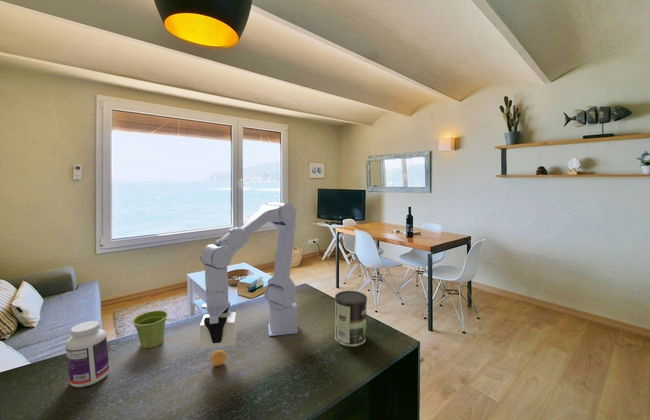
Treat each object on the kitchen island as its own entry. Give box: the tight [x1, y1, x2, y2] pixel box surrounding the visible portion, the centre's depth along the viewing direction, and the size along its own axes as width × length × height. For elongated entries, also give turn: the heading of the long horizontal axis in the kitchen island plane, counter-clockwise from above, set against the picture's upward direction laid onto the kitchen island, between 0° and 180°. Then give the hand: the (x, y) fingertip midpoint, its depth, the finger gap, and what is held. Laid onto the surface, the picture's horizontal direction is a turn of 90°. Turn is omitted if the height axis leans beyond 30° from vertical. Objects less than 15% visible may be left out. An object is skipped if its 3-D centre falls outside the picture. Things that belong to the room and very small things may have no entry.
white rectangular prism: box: [199, 311, 237, 350], centre depth 80 cm, size 9×6×7 cm
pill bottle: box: [65, 320, 110, 388], centre depth 74 cm, size 8×8×14 cm
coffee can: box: [334, 290, 368, 347], centre depth 94 cm, size 10×10×14 cm
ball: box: [210, 349, 227, 367], centre depth 81 cm, size 4×4×4 cm
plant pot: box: [131, 310, 169, 349], centre depth 90 cm, size 9×9×9 cm
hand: (218, 335), depth 80 cm, fingers closed on white rectangular prism, 6 cm apart
